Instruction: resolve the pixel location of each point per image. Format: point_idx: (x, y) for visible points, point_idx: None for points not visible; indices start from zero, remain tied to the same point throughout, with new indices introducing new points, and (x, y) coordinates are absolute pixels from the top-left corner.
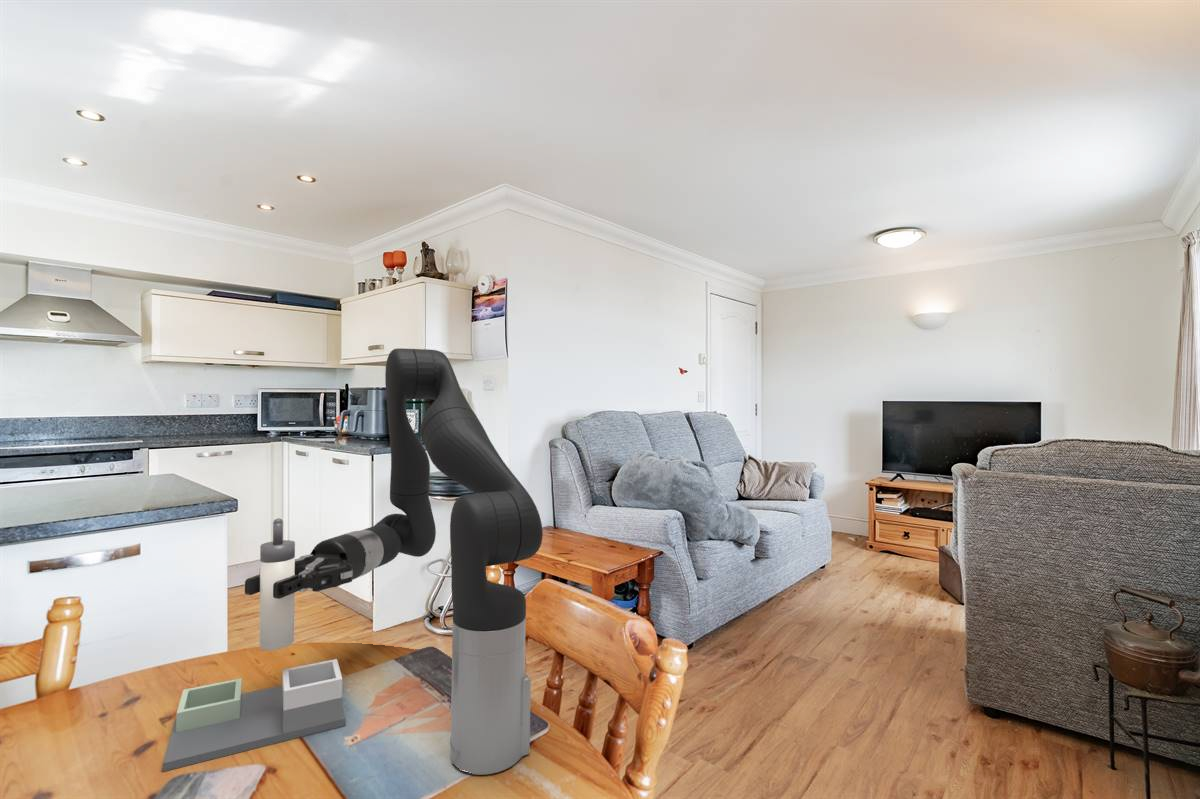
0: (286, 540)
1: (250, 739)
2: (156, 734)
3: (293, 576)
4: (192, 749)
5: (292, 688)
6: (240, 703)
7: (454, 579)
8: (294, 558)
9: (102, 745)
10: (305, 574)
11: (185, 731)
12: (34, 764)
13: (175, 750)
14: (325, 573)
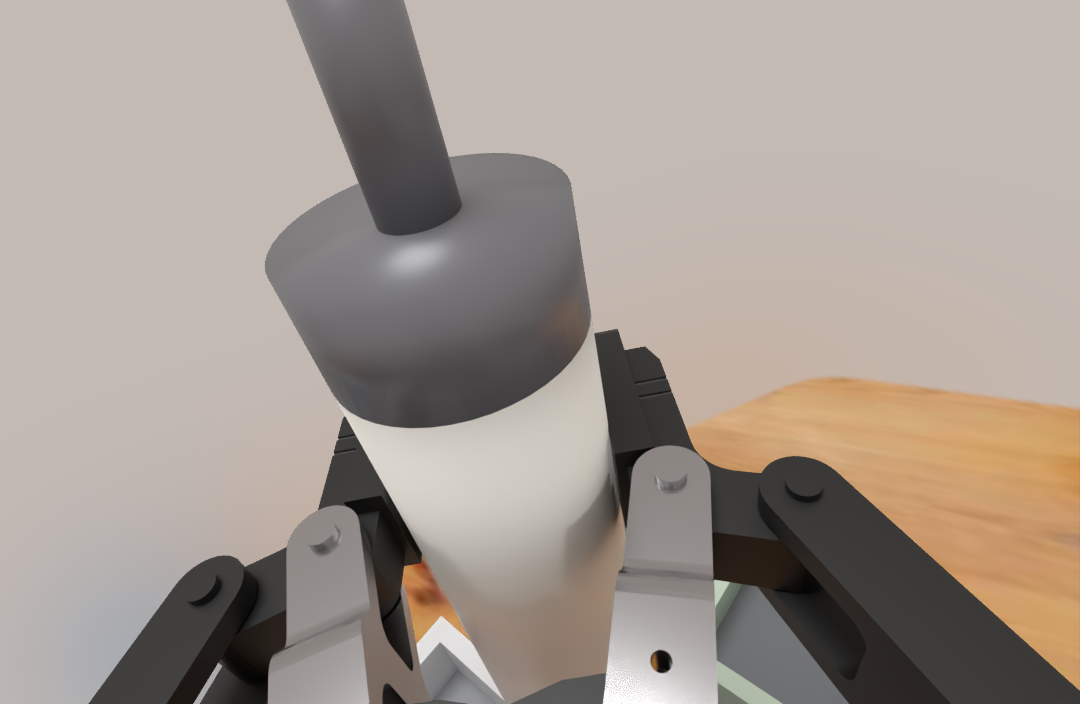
0: (440, 281)
1: None
2: None
3: (365, 470)
4: (626, 530)
5: (427, 641)
6: (721, 701)
7: None
8: (343, 410)
9: (874, 484)
10: (295, 530)
11: None
12: (890, 406)
13: None
14: (140, 643)
